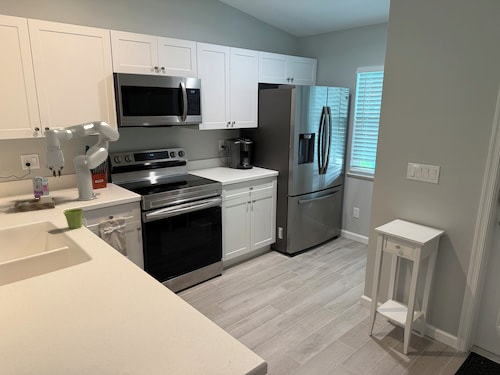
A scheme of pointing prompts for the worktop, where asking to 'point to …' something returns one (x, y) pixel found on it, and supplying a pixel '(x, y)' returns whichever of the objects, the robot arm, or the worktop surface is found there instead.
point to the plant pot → (74, 218)
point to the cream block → (46, 199)
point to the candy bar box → (40, 186)
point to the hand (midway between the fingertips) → (57, 176)
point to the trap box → (33, 205)
